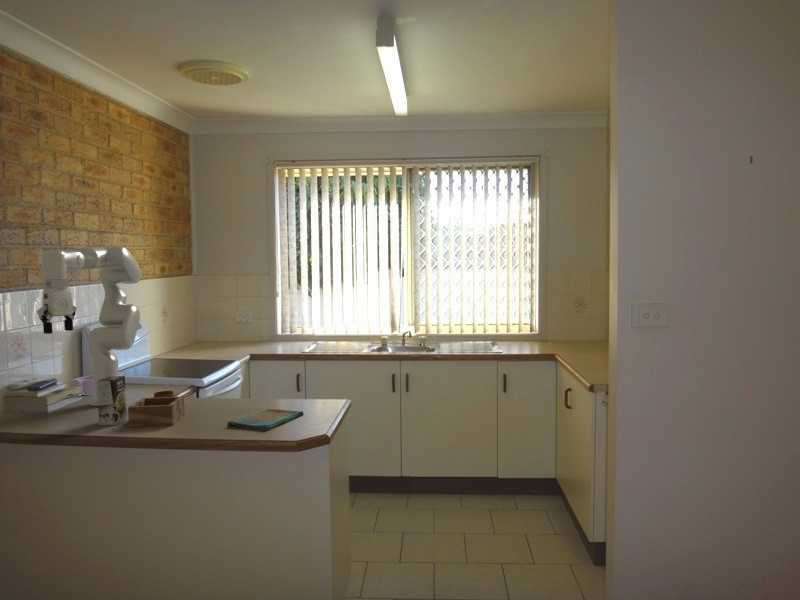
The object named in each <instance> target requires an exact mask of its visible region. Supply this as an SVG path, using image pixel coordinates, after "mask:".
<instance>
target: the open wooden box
mask: <svg viewBox="0 0 800 600" xmlns="http://www.w3.org/2000/svg"><path fill="white" fill-rule="evenodd" d="M184 416H186V414H185V396H174V397H158V398H153V397H143V398H141V399H139V400H137V401H136V402H133V404H131V405H129V406H127V419H128V428H141V427H143V428H144V427H163V426H164V427H165V426H174V425H175V424H176V423H177V422H178V421H179V420H180V419H182V418H183V417H184Z"/></svg>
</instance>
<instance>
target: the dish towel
mask: <svg viewBox="0 0 800 600" xmlns="http://www.w3.org/2000/svg"><path fill="white" fill-rule="evenodd" d="M302 416H304V411H303V410H302V411H301V410H300V411H298V410H297V411H296V410H284V409H273V408H267V409H265V410H262V411H259V412H256V413H253V414H249V415H247V416H245V417H243V418H239V419H236V420H230V421H227V423H226V427H228V428H231V429H232V428H233V429H234V428H235V429H241V430H251V431H258V432H269V431H271V430H273V429H275V428H276V427H279V426H281V425H283V424H286V423H288V422H290V421H293V420H295V419H297V418H300V417H302Z"/></svg>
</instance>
